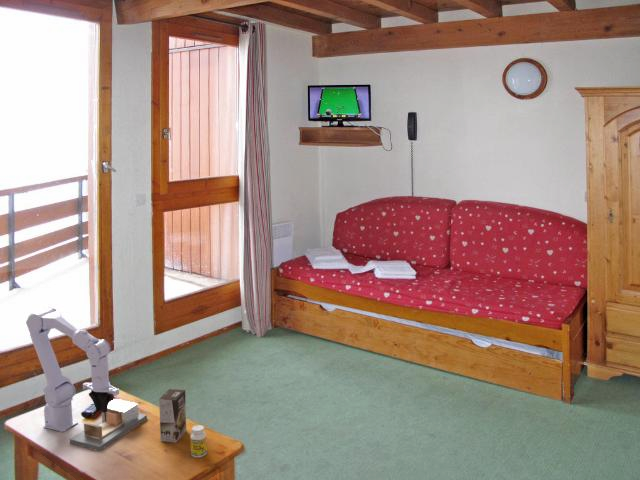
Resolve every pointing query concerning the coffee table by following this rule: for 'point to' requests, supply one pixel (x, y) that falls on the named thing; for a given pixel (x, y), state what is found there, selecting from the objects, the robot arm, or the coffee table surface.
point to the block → (113, 417)
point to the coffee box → (172, 415)
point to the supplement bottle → (198, 441)
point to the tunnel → (123, 411)
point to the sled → (99, 429)
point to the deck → (108, 439)
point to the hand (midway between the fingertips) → (102, 410)
